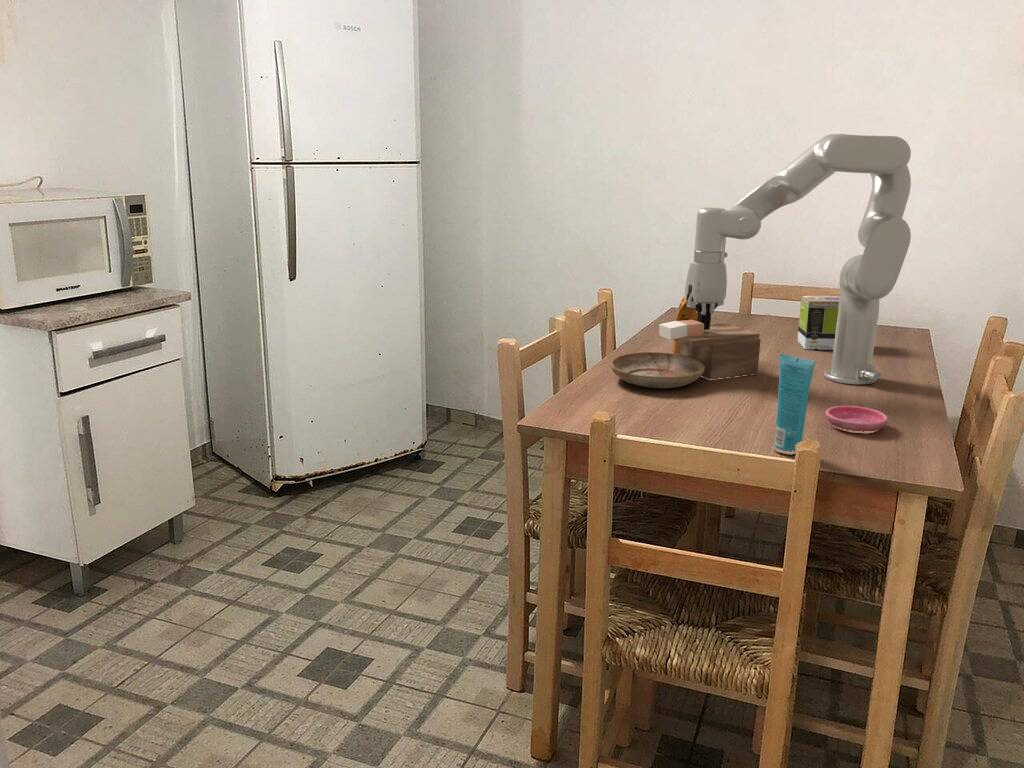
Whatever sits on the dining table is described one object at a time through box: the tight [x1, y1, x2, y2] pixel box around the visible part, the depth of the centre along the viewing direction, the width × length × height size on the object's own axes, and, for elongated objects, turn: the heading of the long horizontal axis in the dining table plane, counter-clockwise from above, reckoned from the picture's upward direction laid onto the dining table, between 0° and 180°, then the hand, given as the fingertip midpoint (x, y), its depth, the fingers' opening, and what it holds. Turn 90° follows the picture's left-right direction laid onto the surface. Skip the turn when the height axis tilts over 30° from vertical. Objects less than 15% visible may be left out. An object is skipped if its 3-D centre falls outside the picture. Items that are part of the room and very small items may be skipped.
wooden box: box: [671, 322, 761, 379], centre depth 220 cm, size 14×22×11 cm, turn 114°
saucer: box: [824, 405, 889, 432], centre depth 180 cm, size 12×12×3 cm
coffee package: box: [672, 295, 698, 354], centre depth 235 cm, size 10×12×22 cm
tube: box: [774, 353, 816, 452], centre depth 163 cm, size 7×5×19 cm, turn 47°
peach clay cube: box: [678, 320, 704, 337], centre depth 215 cm, size 5×5×3 cm
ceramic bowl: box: [610, 351, 705, 389], centre depth 212 cm, size 23×24×5 cm
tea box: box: [797, 295, 839, 351], centre depth 248 cm, size 15×10×15 cm
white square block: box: [658, 320, 687, 341], centre depth 213 cm, size 5×5×3 cm
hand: (703, 328), depth 217 cm, fingers closed
